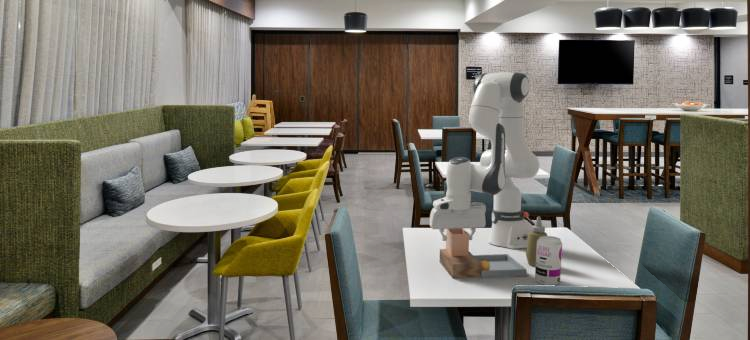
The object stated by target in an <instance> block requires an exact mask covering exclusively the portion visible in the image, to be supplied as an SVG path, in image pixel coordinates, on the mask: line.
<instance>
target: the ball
mask: <svg viewBox="0 0 750 340" xmlns="http://www.w3.org/2000/svg"><path fill="white" fill-rule="evenodd" d="M489 269H490V264H489V262H487V261H481V271H485V270H489Z"/></svg>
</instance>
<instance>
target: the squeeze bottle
mask: <svg viewBox="0 0 750 340" xmlns="http://www.w3.org/2000/svg"><path fill="white" fill-rule="evenodd" d="M541 236H548V233H547V232H546V226H544V225H543V222H542V218H541V216H537V217H536V221H535V224H533V226H532V231H531V232H529V237H528V244H527V248H526V251H525V252H526V253H525V257H526V260H527V264H528V265H530V266H532V267H536V249H537V241H538V239H539V237H541Z"/></svg>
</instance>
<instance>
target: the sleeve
mask: <svg viewBox="0 0 750 340" xmlns="http://www.w3.org/2000/svg"><path fill="white" fill-rule="evenodd" d="M445 232H446V233H445V235H446V236H447V241H445V249H446V251H447V252H448V253H449V254H450V255H451V256H468V252H470V251H469V249H470V248H469V247H470V246H469V244H470V240H469V234H470V232H468V231H466V229H465V228H462V229H445Z"/></svg>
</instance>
